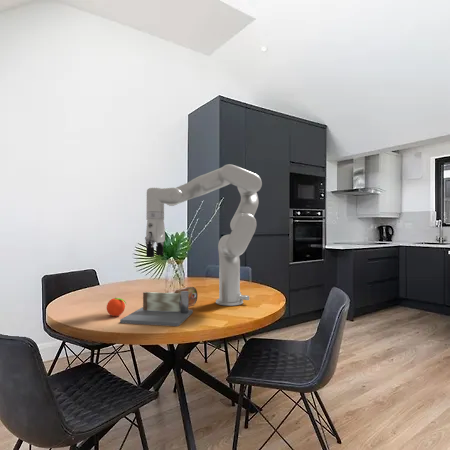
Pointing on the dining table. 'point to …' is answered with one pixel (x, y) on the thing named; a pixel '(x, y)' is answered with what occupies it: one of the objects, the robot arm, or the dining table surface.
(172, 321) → the board
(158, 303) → the gate
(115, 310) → the clementine
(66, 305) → the dining table surface
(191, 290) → the tin
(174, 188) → the robot arm
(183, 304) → the post
